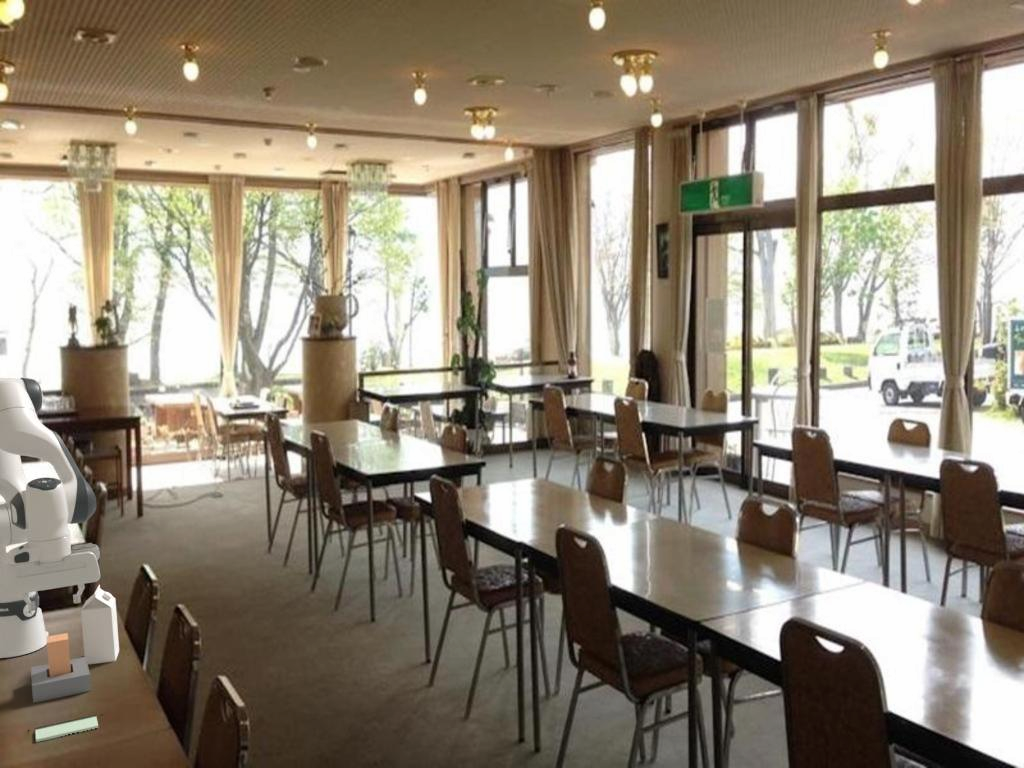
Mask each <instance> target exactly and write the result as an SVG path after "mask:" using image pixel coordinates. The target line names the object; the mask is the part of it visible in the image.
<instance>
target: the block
mask: <svg viewBox="0 0 1024 768" xmlns="http://www.w3.org/2000/svg"><path fill="white" fill-rule="evenodd" d="M46 638H47V644H46V650H47V651H46V652H47V658H48V659H47V660H48V663H47V664H49V675H50V677H52V676H57V675H62V674H67V673H71V665H70V659H71V655H70V641H69V633H68V632H65V633H59V634H53V635H49V636H47V637H46Z"/></svg>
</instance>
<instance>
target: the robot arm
mask: <svg viewBox="0 0 1024 768" xmlns="http://www.w3.org/2000/svg"><path fill="white" fill-rule="evenodd" d="M43 395H44V394H43V391H42V389H41V385H40V384H39V382H38V381H36V380H35V379H33V378H28V377H20V378H10V377H9V378H7V377H6V378H5V377H3V378H1V377H0V496H1V498H3V499H4V501H5V502H4V503H0V659H4V658H5V659H6V658H14V657H19V656H23V655H26V654H30V653H33V652H35V651H38V650H40V649H42V648H43V647H45V646H47V638H46V637H47V636H50V635H49V631H47V630H46V627H45V621H44V617H43V612H42V609H41V608H40V607H39V606H40V596H39V593H38V592H39V591H40V592H41V591H46V590H52V589H59V588H65V587H73V586H77V589H78V590H77V592H76V593H75V594H72V598H73V604H79V603H81V601H82V599H81V596H82V594H83V592H84V590H85V589H86V586H85V584H91V583H96V582H98V581H99V580H100V579H101V571H100V567H99V562H98V561H99V559H100V557H101V552H100V547H99V546H98V545H97V544H95V543H94V544H93V543H92V542H86V543H84V544H83V543H82V544H81V543H79V544H78V543H77V544H72V541H71V531H70V528H69V526H68V525H69V524H70V525H73V524H81V523H82V524H83V523H86V522H87V521H88V520H89V519H90V518H91V517H92V516H93V515H94V514H95V512H96V511H97V497H96V495H95V493H94V491H93V488H92V486H91V485H90V484H89V483H88V481H86V478H84V475H83V474H82V472H81V470H80V469H79V467H78V465H77V464H76V462H75V459H74V458H73V456H72V454H71V453H70V451H69V449H68V448H67V446H66V444H65V443H64V441H63V439H62V438H61V436H60V435H59V434H58V433H57V431H54V430H52V429H49V428H48V427H47V426H45V425H44V424H43V423H42V422H41V420H40V419H39V418H38V416H37V414H38V413H39V412H40V411H41V410H42V406H43V401H44V396H43ZM21 456H22V457H23V456H25V457H30V458H35V459H40V460H43V461H45V462H47V463H49V464H51V466H52V467H53V468H54V471H55V473H56V474H57V477H58V478H55V477H39V478H35V479H32V480H30V481H29V480H28V479H27V478H26V475H25V472H24V469H23V464H22V459H21ZM17 544H20V545H18V546H16V547H14V548H12V549H11V548H10V550H9V551H8V552H7V547H8V546H9V547H10V546H12V545H17Z"/></svg>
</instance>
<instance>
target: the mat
mask: <svg viewBox="0 0 1024 768" xmlns="http://www.w3.org/2000/svg"><path fill="white" fill-rule="evenodd" d="M98 722H99V721H98V717H97V714H93V715H89V716H84V717H79V718H74V719H71V720H67V721H66V720H65V721H62V722H57V723H52V724H49V725H44V726H39V727H35V729H34V730H35V731H34V732H35V742H36V743H39V742H43V741H49V740H52V739H57V738H62V737H66V736H69V735H68V734H70V735H73V734H72V733H75V734H78V733H77V732H79V733H83V731H84V732H88V731H91V729H92V730H95V728H97V729H99V723H98ZM87 730H88V731H87ZM65 735H66V736H65ZM61 736H62V737H61Z"/></svg>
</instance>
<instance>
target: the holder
mask: <svg viewBox="0 0 1024 768" xmlns="http://www.w3.org/2000/svg"><path fill="white" fill-rule="evenodd" d="M70 665H71V673H67V674H62V675H57V676H52V677H50V675H49V663H45V664H40V665H36V666H31V667H30V676H31V691H32V703H33V704H34V703H40V702H45V701H49V700H55V699H58V698H64V697H67V696H74V695H78V694H82V693H88V692H90V691H92V685H91V673H90V669H89V664H88V663H87V658H86V657H84V656H82V657H76V658H72V659H71V658H70Z"/></svg>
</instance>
